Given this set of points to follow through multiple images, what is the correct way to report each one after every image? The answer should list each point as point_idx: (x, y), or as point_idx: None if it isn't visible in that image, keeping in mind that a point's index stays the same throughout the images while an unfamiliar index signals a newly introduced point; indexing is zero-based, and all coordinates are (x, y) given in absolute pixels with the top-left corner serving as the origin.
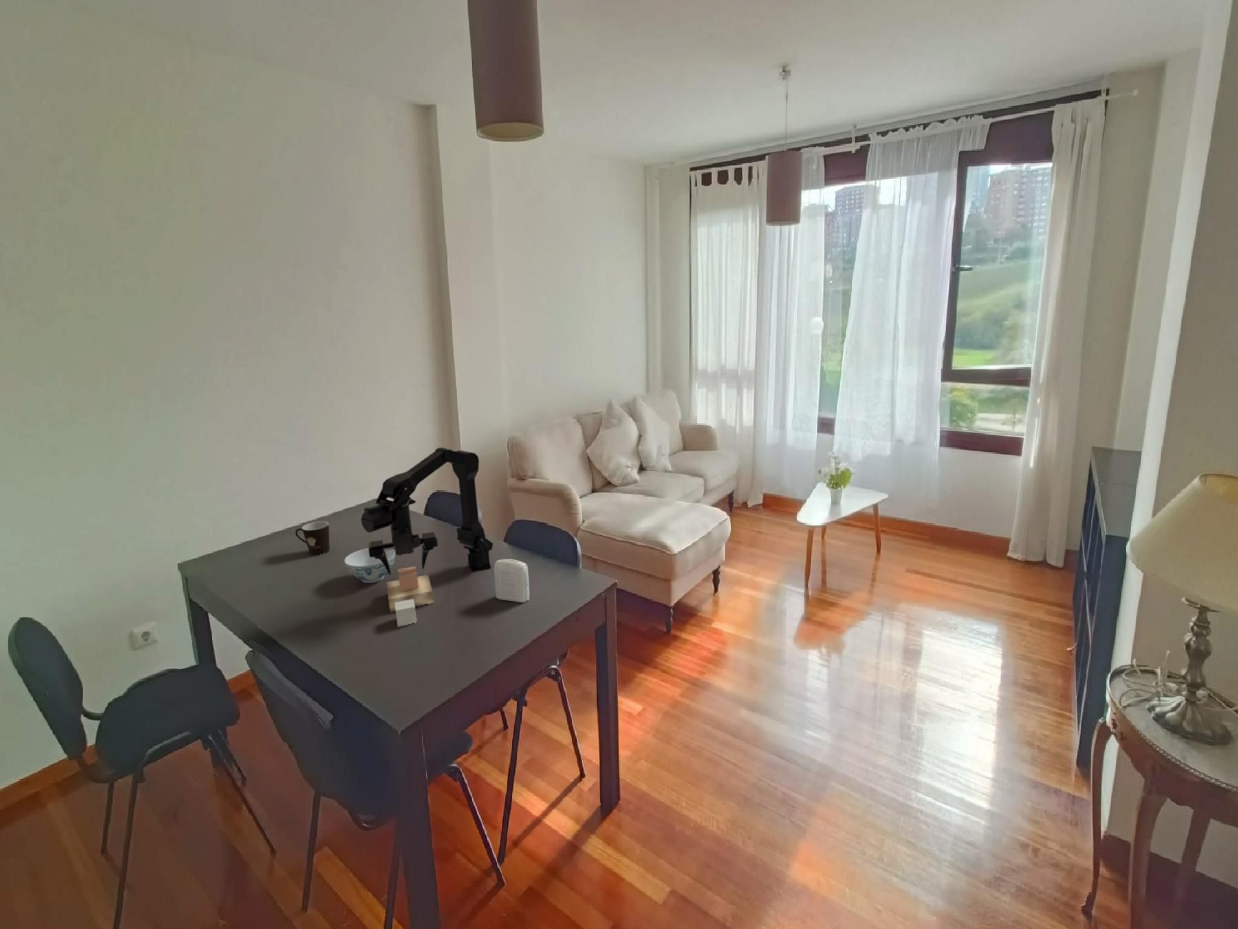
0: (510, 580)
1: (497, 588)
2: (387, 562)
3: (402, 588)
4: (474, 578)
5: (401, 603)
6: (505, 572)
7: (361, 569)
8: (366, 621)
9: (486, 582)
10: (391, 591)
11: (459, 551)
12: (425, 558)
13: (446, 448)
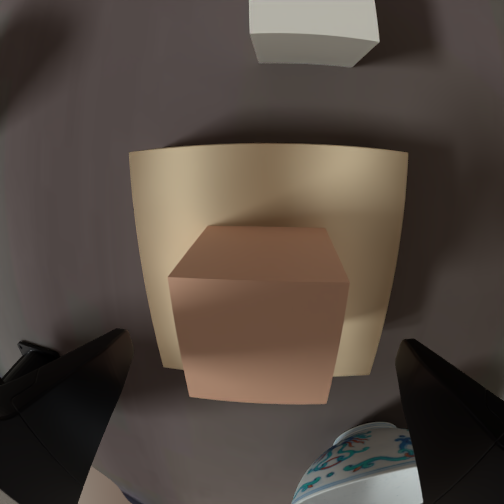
0: None
1: None
2: (481, 421)
3: (314, 235)
4: (40, 306)
5: (334, 6)
6: None
7: None
8: (470, 120)
9: (8, 258)
10: (377, 260)
11: (123, 457)
12: (36, 372)
13: None
